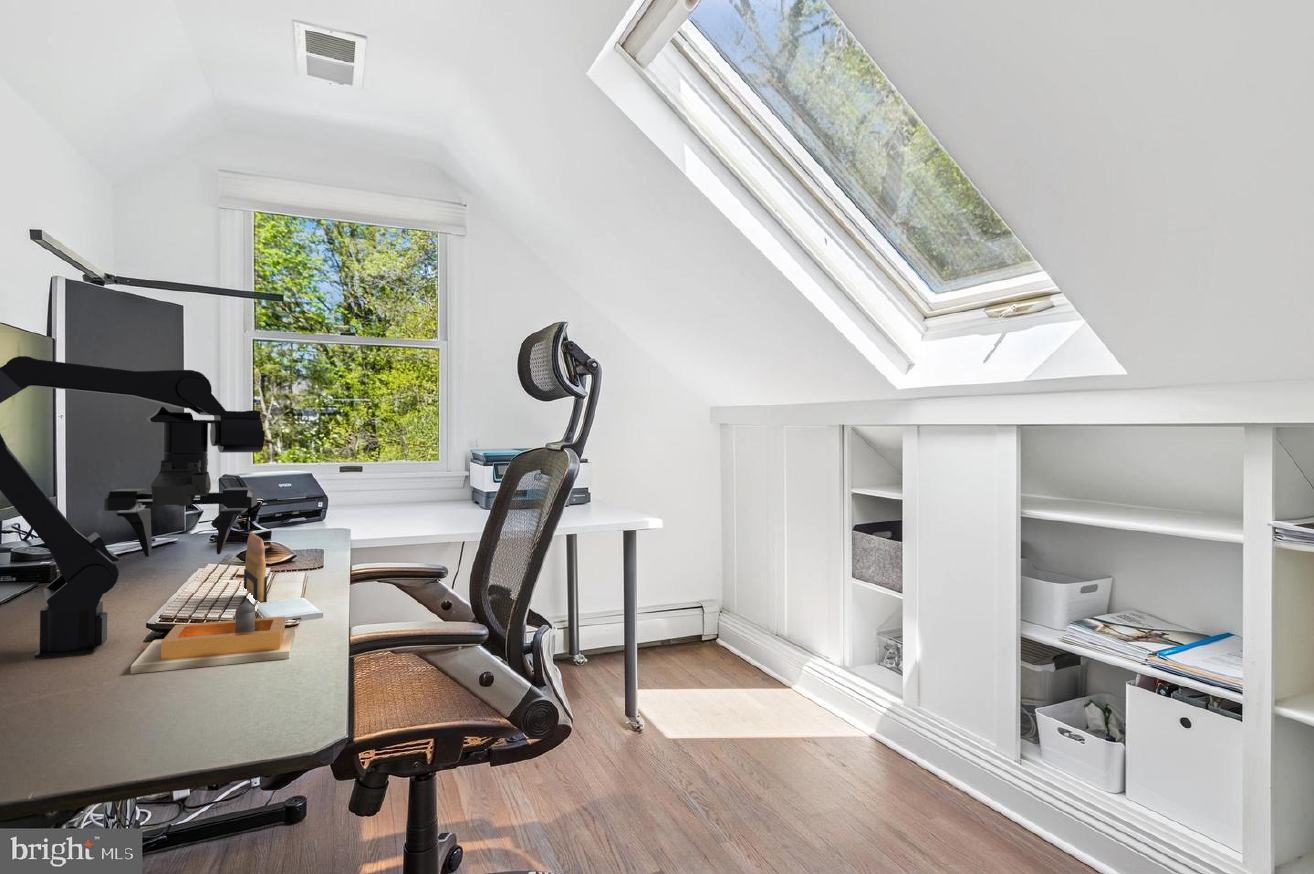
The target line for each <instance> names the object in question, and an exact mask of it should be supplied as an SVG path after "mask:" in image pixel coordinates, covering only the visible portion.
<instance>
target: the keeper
mask: <svg viewBox="0 0 1314 874" xmlns="http://www.w3.org/2000/svg"><path fill="white" fill-rule="evenodd" d="M255 619H256V612H255V608H254V606H253V605H252V604H251V603H250V602H243V603H242V604H239V605H238V606H237V608H236V610H235V618H234V620H235V633H243V632H255ZM295 635H296V629H295V628H285V633H284V636H283V640H282V643H281V647H280V649H278V650H267V651H256V652H245V653H234V654H224V655H213V656H202V657H191V658H180V659H170V660H161V642H162V640H163V639H164V638H163V639H162V638H161V639H154V640H152V642H151V643H150V644H148V646H147V647H146V648H145V649H144V651H142V653H141V654H140V655H139V656H138V657H137V658H136V660H134V662H133V663H132V664H131V665H130V674H134V675H135V674H143V673H152V672H153V673H155V672H163V671H172V670H173V671H175V670H184V669H185V670H186V669H193V668H194V669H195V668H204V667H206V668H207V667H216V666H224V665H227V666H228V665H235V664H236V665H237V664H245V663H247V664H248V663H255V662H266V661H275V660H276V661H279V660H286V659H290V656H291V653H292V648H293V644H294V639H295V637H296V636H295Z"/></svg>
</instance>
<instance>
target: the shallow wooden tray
mask: <svg viewBox="0 0 1314 874" xmlns="http://www.w3.org/2000/svg"><path fill="white" fill-rule="evenodd" d="M285 629H286V623H285V616H284V617H271V618H261V617H258V618H255V632H243V633H235V619H233V620H221V621H220V620H219V621H207V622H194V623H193V622H192V623H181V624H175V625H174V626H173V628H171V630H170V631H169V632H168V633H167V635H165V637H164V638H163V640H162V642H161V660H170V659H180V658H191V657H202V656H213V655H224V654H234V653H245V652H256V651H267V650H278V649H280V647H281V643H282V640H283V636H284V633H285Z"/></svg>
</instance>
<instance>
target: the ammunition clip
mask: <svg viewBox="0 0 1314 874" xmlns="http://www.w3.org/2000/svg"><path fill="white" fill-rule="evenodd" d="M248 534H249V535H248V538H247V543H246V552H245V553H246V554H245V562H244V563H245V564H244V565H245V566H244V569H243V589H244V588H245V589H247V591H249V593H251V595H253V598H254V599H255V600H258V601H259V602H260V603H263V602H268V601H267V599H268V596H267V595H268V582H267V581H268V578H267V575H266V574H267V572H266V571H267V570H266V569H267V565H266V564H267V562H266V553H265V550H266V549H265V544H264V540H263V539H262V537H260V536H259V535H256V534H255V533H253V532H252V531H250V532H249V533H248Z"/></svg>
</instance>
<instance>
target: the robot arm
mask: <svg viewBox="0 0 1314 874" xmlns="http://www.w3.org/2000/svg"><path fill="white" fill-rule="evenodd" d="M29 387H39V388H48V389H59V390H67V391H68V390H69V391H77V392H85V393H86V392H89V393H97V394H98V393H99V394H105V395H106V394H109V395H116V396H117V395H118V396H126V397H127V396H128V397H133V398H138V399H141V400H146V401H148V402H152V403H155V404H160V405H165V406H169V407H173V408H176V409H189V410H191V411H192V412H194V413H196V414H197V415H199V416H212V417H213V419H194V417H193V414H192V413H191V412H190V411H189V412H188V411H187V412H185V411H184V412H183V411H182V412H181V411H179V412H178V411H169V410H168V409H166V407H164V406H159V407H158V408H157V410H156V411H155V412H153V414H152V415H150V416H148V417H147V418H146V422H148V423H162V460H161V461H160V469H159V472H158V474H156V475H157V476H156V477H155V478H154V480H153V481H152V482H151V483H150V486H151V487H150V488H151V492H150V493H149V491H148V488H119V489H114V490H110V491H109V492H108V493H106V494H105V496H104V501H103V502H104V509H103V510H104V511H106V512H110V511H111V512H113V511H115V513H114V514H115V516H116V517H122V518H124V519H125V520H126V521H127V522H128V523H129V524H130V526H131V527H132V529H133V531H134V533H135V535H136V537H137V540H138V543H139V544H140V547H141V548H142V552H143V554H144V556H145V557H146V558H149V557H151V555H152V547H153V541H152V540H153V539H152V514H151V508H145V507H146V506H154V507H164V506H178V507H186V506H190V505H222V507H224V508H223V509H221V510H219V523H218V533H217V539H216V555H221V554H222V553H223V552H222V551H223V549H224V547H225V544H226V541H227V539H228V537H229V534H230V531H231V529H232V527H233V525H234V523H235V522H236V520H237V518H238V517H239V515H241V514H243V513H245V512H246V511H247V510H248V509H252V508H253V507H255V506H257V505H258V492H257V490H256V489H255V488H254V487H227V488H225V489H223V490H222V492H220V491H219V492H218V491H216V492H211V488H212V485H211V484H212V483H211V477H210V473H209V471H208V466H209V459H208V456H209V455H208V451H209V450H208V448H209V444H208V443H209V442H208V441H210V445H211V446H212V447H217V448H218V449H217V450H218V452H219V453H222V454H223V453H227V454H229V453H235V454H236V453H261V452H262V451H263V449H264V445H265V435H266V433H265V430H264V424H263V420H262V419H261V411H260V410H244V411H243V410H241V411H240V410H239V411H238V410H236V411H235V410H226V409H225V407H223V406H222V404H221V403H220V402H219V401H218V400H217V398H216V397H215V396H214V394H213V393H212V390H213V389H212V385H211V381H210V380H209V378H208V377H206V376H205V375H204V374H203V373H202V372H200V371H196V370H192V369H170V370H169V369H167V370H165V369H163V370H146V371H145V370H143V371H142V370H141V371H140V370H128V369H121V368H113V367H104V366H94V365H89V364H87V365H85V364H79V363H72V362H71V363H68V362H64V361H63V362H61V361H53V360H47V359H46V360H45V359H37V358H34V357H32V356H26V355H20V356H16V357H12V358H11V359H9V360H8V361H7V362H6V363H5V364H3V365H2V366H0V404H2V403H3V402H5V401H6V400H8V399H10V398H12V397H13V396H15V395H16V394H18V393H20V392H21V391H23V390H25V389H26V388H29ZM209 424H210V430H209ZM208 437H210V438H208ZM209 439H210V440H209ZM0 492H1V493H2V494H3V496H4V497H5V498H6V500H8V501H9V503H10V504H11V505H12V507H13V508H14V509H15V510H16V511H17V512H18V514H19V515H20V516H21V517H22V518H23V519H24V520H25V522H26V523H27V524H28V525H29V527H30V528H31V529H32V530H33V531H34V532H35V534H36V535H37V536H38V537H39V538H40V540H42V542H43V543H44V544H45V546H46V547H47V549H48V551H49V553H50V555H51V558H53V561H54V562H55V565H56V567H57V569H58V571H59V572H60V575H58V577H57V578H55V579H54V580H53V581H52V582H51V583H49V584H48V585H47V586H46V587H44V588H43V593H44V597H45V600H46V604H47V605H46V606H45V607H43V608H41V609H40V610H39V650H38V651H37V652H36V653H34V655H33V658H34V659H40V658H51V657H52V658H53V657H62V656H63V657H65V656H74V655H75V656H76V655H88V654H93V653H95V652H96V651H97V650H98V649H99V648H101V646H103V645H104V643H106V642H107V640H108V612H107V611H104V607H103V606H104V605H103V603H104V602H103V601H101V599H102V597H103V595H104V594H107V593H108V592H109V591H110V590H111V589H113V588H114V586H115V585H117V584H116V583H117V582H118V579H119V575H120V574H119V573H120V572H119V568H118V566H117V565H116V563H115V562H118V561H119V560H120V558H119V557H118V555H116V554H115V553H114V552H113V551H111V550H109V549H108V548H107V547H106V545H105V543H104V541H103V539H102V537H101V536H100V534H98V533H97V532H93V533H91V535H89V536H87V537H86V536H85V535H83V534H82V533H81V532H80V531H78V530H77V529H76V528H74V526H73V525H72V524H71V522H70V521H68V519H67V518H66V517H65V515H64V514H63V513H62V512H61V511H60V510H59V508H58V507H57V506H56V504H55V503H54V502H53V500H51V498H50V497H49V496H48V495H47V493H46V492H45V491H44V490H43V489H42V488H41V486H40V485H39V483H37V481H36V480H35V479H34V478H33V476H32V475H31V474H30V472H28V470H27V469H26V468H25V466H24V465H23V463H21V462H20V461H19V459H18V458H17V456H16V455H14V453H13V452H12V451H11V450H10V448H9V447H8V446H7V444H6V442H5V440H4V438H3V436H2V434H1V433H0Z"/></svg>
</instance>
